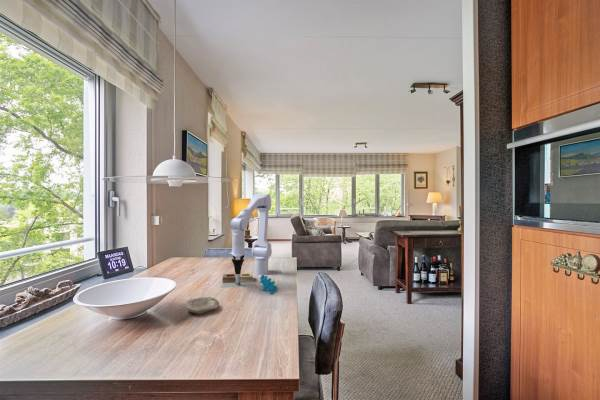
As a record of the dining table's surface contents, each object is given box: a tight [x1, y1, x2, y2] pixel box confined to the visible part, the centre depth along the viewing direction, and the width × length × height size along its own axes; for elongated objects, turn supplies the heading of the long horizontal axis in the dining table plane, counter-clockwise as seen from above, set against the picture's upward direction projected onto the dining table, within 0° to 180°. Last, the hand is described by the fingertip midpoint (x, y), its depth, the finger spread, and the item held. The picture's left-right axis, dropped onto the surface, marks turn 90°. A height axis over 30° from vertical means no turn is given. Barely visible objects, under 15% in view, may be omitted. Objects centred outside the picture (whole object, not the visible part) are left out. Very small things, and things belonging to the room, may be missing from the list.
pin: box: [235, 272, 242, 286], centre depth 142 cm, size 2×2×8 cm
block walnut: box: [222, 273, 236, 283], centre depth 149 cm, size 7×7×2 cm
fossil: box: [185, 296, 220, 315], centre depth 112 cm, size 11×12×3 cm
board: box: [221, 276, 255, 288], centre depth 147 cm, size 16×15×1 cm
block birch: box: [241, 272, 254, 282], centre depth 150 cm, size 7×7×2 cm
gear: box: [259, 275, 278, 295], centre depth 134 cm, size 11×6×10 cm
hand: (238, 272), depth 142 cm, fingers open, 7 cm apart
